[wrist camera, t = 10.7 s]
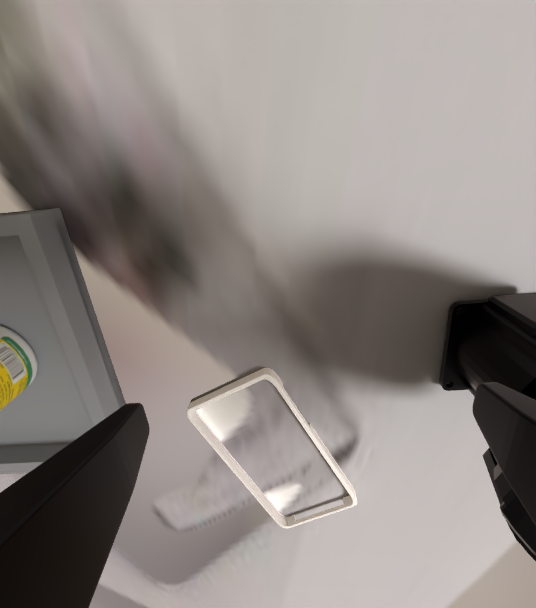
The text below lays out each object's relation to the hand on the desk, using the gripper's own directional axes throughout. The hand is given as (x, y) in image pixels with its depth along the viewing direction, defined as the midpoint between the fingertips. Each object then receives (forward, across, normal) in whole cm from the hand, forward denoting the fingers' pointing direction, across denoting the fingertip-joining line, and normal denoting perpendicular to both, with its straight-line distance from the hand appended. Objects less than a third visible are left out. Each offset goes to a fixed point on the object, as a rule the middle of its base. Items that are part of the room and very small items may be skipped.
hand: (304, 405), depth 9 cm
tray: (+12, +20, +4) cm, 24 cm away
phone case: (+13, +2, +15) cm, 20 cm away
